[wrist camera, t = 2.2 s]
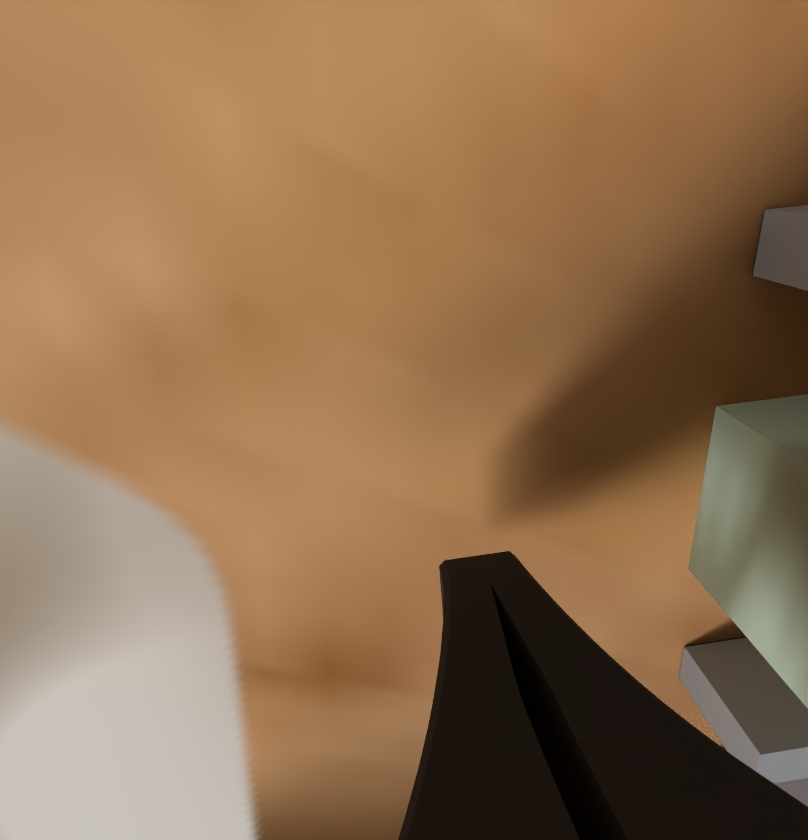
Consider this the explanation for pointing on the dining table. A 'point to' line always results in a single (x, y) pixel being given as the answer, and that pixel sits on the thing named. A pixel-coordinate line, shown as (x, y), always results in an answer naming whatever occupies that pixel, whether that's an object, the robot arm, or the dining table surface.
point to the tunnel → (739, 659)
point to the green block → (759, 529)
